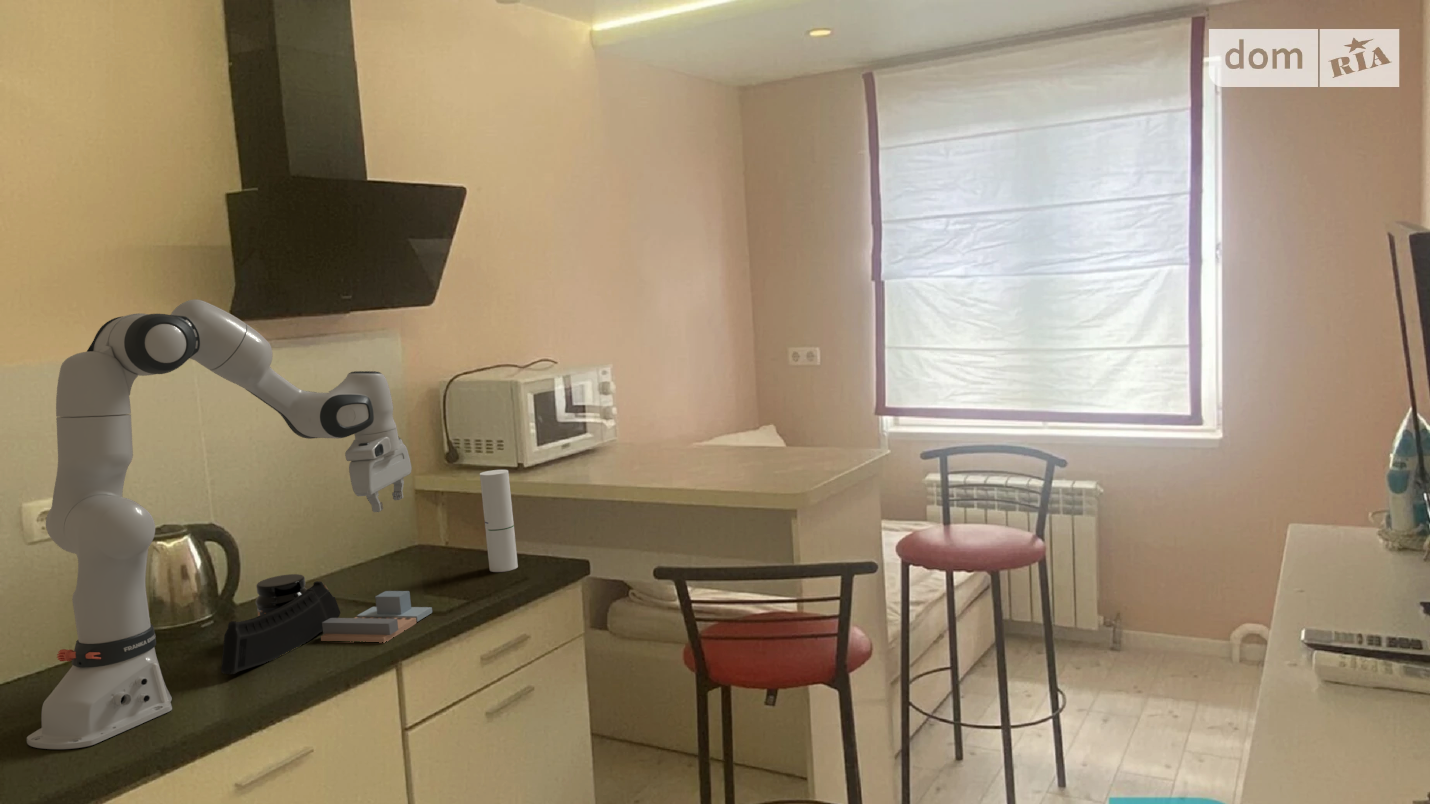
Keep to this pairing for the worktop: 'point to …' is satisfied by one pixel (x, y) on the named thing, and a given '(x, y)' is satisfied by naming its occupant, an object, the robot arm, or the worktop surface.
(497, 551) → the cylindrical container
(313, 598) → the magazine
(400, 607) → the grey plate with knob
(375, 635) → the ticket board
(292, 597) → the supplement container
